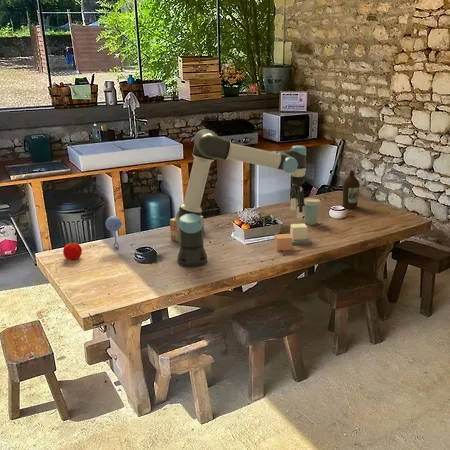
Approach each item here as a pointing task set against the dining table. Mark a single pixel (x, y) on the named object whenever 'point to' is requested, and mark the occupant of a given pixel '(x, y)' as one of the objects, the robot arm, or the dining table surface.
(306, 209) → the disposable coffee cup
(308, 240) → the slate pad
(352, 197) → the olive oil
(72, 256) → the tomato
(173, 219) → the printed cardboard box
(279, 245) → the terracotta brick
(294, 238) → the cream brick
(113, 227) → the baby rattle
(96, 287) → the dining table surface
